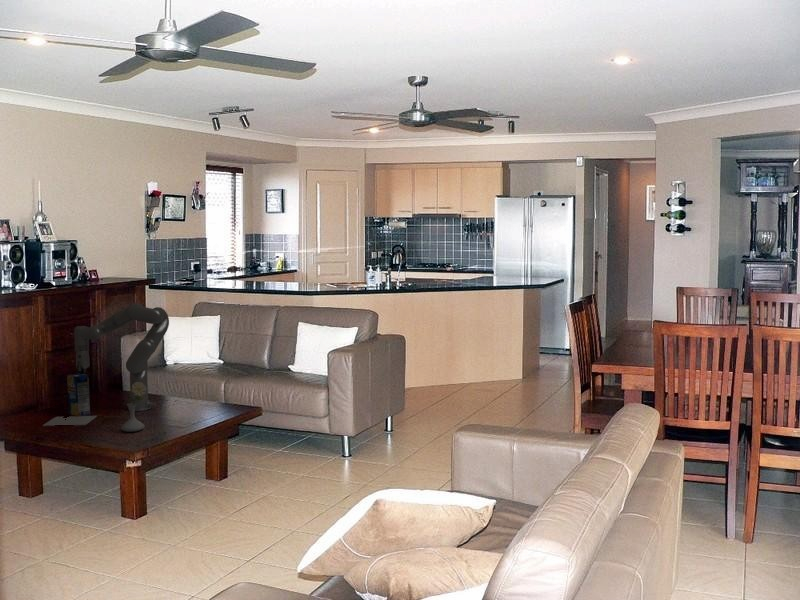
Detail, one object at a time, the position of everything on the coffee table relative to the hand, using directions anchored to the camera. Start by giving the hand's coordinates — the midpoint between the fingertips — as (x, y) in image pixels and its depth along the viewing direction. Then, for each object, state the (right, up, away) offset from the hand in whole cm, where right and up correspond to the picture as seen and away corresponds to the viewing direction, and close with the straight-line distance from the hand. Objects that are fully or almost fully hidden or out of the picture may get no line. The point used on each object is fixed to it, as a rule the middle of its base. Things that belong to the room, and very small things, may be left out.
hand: (82, 380), depth 472 cm
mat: (+2, -20, -23) cm, 30 cm away
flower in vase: (+43, -21, -45) cm, 66 cm away
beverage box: (+1, -18, -8) cm, 20 cm away
